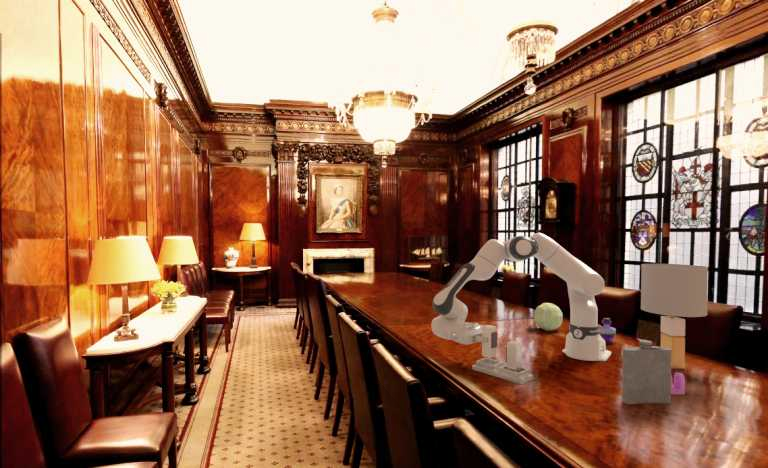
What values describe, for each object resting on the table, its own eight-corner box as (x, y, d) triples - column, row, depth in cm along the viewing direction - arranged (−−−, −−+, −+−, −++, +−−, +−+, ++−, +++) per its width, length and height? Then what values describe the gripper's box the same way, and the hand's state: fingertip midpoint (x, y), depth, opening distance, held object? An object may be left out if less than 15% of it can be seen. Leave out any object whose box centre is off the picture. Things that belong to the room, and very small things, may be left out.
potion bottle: (619, 344, 209) (620, 320, 209) (602, 344, 209) (602, 320, 209) (610, 339, 217) (611, 316, 217) (593, 339, 217) (594, 316, 217)
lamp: (721, 375, 164) (722, 268, 164) (662, 374, 165) (663, 268, 164) (680, 357, 187) (681, 263, 187) (629, 357, 187) (629, 263, 187)
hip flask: (626, 404, 136) (626, 342, 136) (618, 399, 140) (618, 339, 140) (673, 403, 137) (673, 342, 137) (664, 398, 141) (664, 339, 141)
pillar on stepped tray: (484, 365, 176) (484, 332, 176) (533, 379, 159) (533, 343, 159) (471, 369, 170) (472, 336, 170) (521, 384, 154) (521, 347, 154)
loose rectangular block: (487, 354, 172) (488, 324, 171) (497, 356, 168) (498, 326, 168) (481, 355, 169) (482, 326, 169) (491, 358, 166) (492, 328, 165)
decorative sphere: (529, 327, 245) (529, 301, 245) (553, 326, 247) (554, 301, 246) (541, 333, 230) (542, 306, 230) (567, 332, 232) (568, 305, 232)
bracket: (684, 394, 145) (685, 374, 145) (668, 394, 145) (668, 374, 145) (661, 381, 158) (662, 362, 158) (646, 380, 158) (646, 362, 158)
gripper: (447, 328, 171) (475, 335, 161) (477, 321, 185) (505, 327, 175) (447, 344, 172) (475, 351, 161) (477, 336, 185) (505, 342, 175)
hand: (491, 339), depth 168 cm, fingers closed on loose rectangular block, 4 cm apart
